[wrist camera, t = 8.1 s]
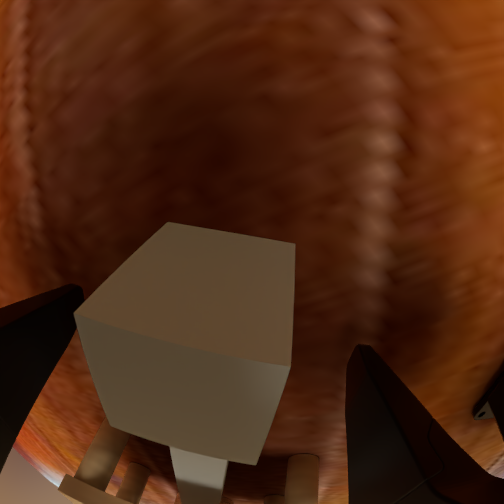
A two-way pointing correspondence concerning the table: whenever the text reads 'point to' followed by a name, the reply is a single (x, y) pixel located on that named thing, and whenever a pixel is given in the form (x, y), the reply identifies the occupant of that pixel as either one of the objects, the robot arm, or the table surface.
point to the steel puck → (224, 502)
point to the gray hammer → (194, 348)
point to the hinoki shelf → (130, 491)
